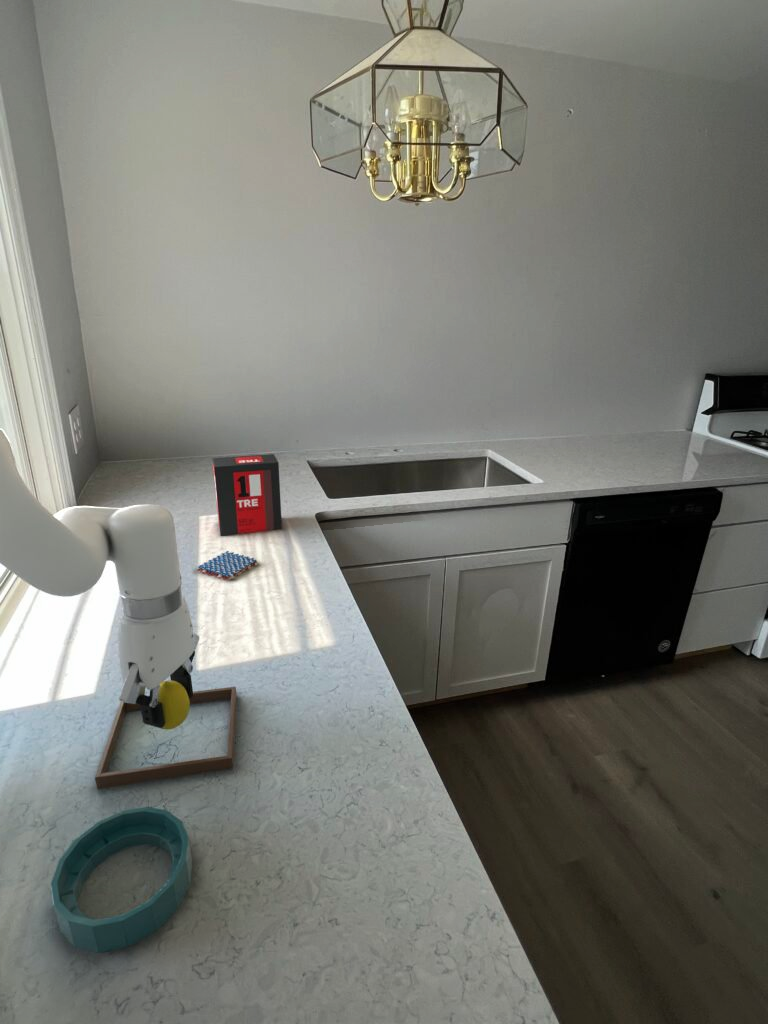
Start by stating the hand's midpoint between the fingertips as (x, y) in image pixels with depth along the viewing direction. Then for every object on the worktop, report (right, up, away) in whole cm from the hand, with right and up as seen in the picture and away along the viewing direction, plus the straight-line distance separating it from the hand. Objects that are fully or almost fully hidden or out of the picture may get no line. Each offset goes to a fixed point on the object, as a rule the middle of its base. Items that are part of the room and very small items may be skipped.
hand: (169, 708), depth 79 cm
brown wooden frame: (0, -5, +2) cm, 6 cm away
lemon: (0, -3, +1) cm, 4 cm away
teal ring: (+3, -13, -18) cm, 23 cm away
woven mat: (-7, +14, +53) cm, 56 cm away
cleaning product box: (-7, +23, +77) cm, 81 cm away
